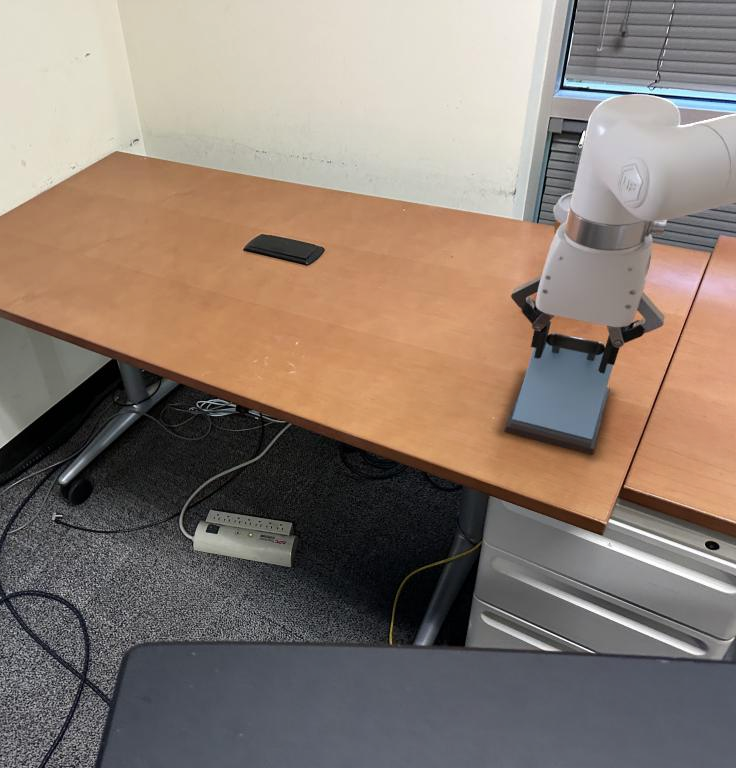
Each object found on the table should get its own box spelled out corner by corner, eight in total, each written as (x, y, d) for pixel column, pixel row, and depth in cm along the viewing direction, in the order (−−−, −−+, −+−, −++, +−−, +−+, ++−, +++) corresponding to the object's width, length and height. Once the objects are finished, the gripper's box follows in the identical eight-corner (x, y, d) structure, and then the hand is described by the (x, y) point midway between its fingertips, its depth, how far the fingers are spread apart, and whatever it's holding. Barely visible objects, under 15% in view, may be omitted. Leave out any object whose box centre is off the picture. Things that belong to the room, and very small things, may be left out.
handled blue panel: (536, 340, 87) (537, 326, 83) (615, 356, 83) (620, 342, 79) (511, 420, 85) (511, 409, 81) (591, 440, 81) (595, 430, 77)
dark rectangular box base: (526, 375, 93) (528, 364, 92) (608, 393, 88) (611, 382, 87) (504, 431, 85) (506, 421, 84) (592, 455, 81) (595, 444, 80)
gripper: (707, 219, 69) (656, 358, 81) (526, 197, 77) (504, 326, 89) (701, 256, 64) (648, 397, 76) (509, 228, 72) (488, 360, 84)
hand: (571, 358), depth 82 cm, fingers closed on handled blue panel, 6 cm apart
